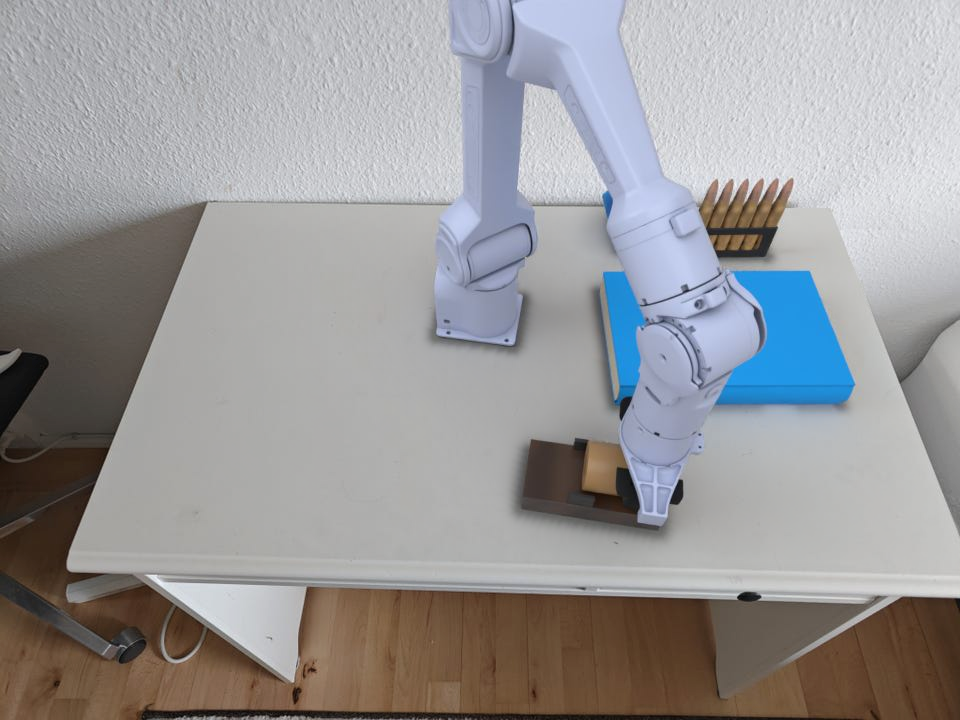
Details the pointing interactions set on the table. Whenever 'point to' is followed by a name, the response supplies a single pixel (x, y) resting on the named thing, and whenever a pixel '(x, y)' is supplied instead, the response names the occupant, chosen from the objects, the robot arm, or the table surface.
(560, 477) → the stand
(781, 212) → the ammunition clip
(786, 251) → the table surface
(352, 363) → the table surface
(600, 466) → the towel roll
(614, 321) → the book
